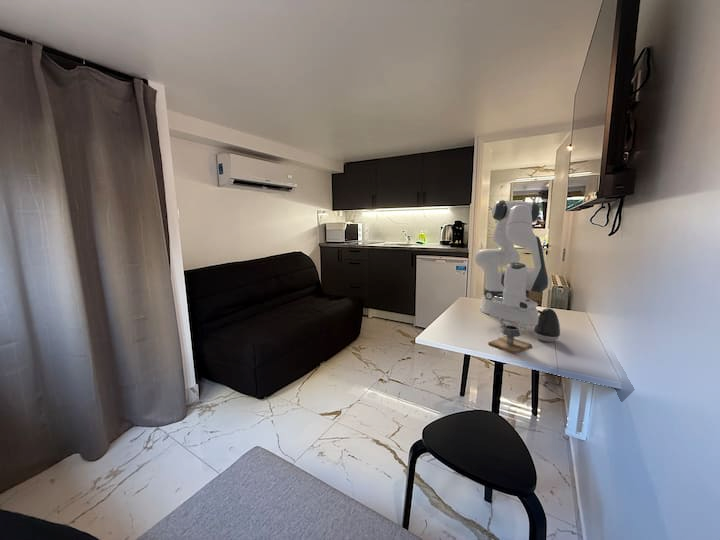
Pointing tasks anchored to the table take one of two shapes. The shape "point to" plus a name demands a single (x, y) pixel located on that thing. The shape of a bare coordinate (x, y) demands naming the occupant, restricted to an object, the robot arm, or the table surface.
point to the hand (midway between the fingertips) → (511, 330)
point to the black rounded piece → (547, 326)
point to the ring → (510, 330)
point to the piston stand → (510, 344)
